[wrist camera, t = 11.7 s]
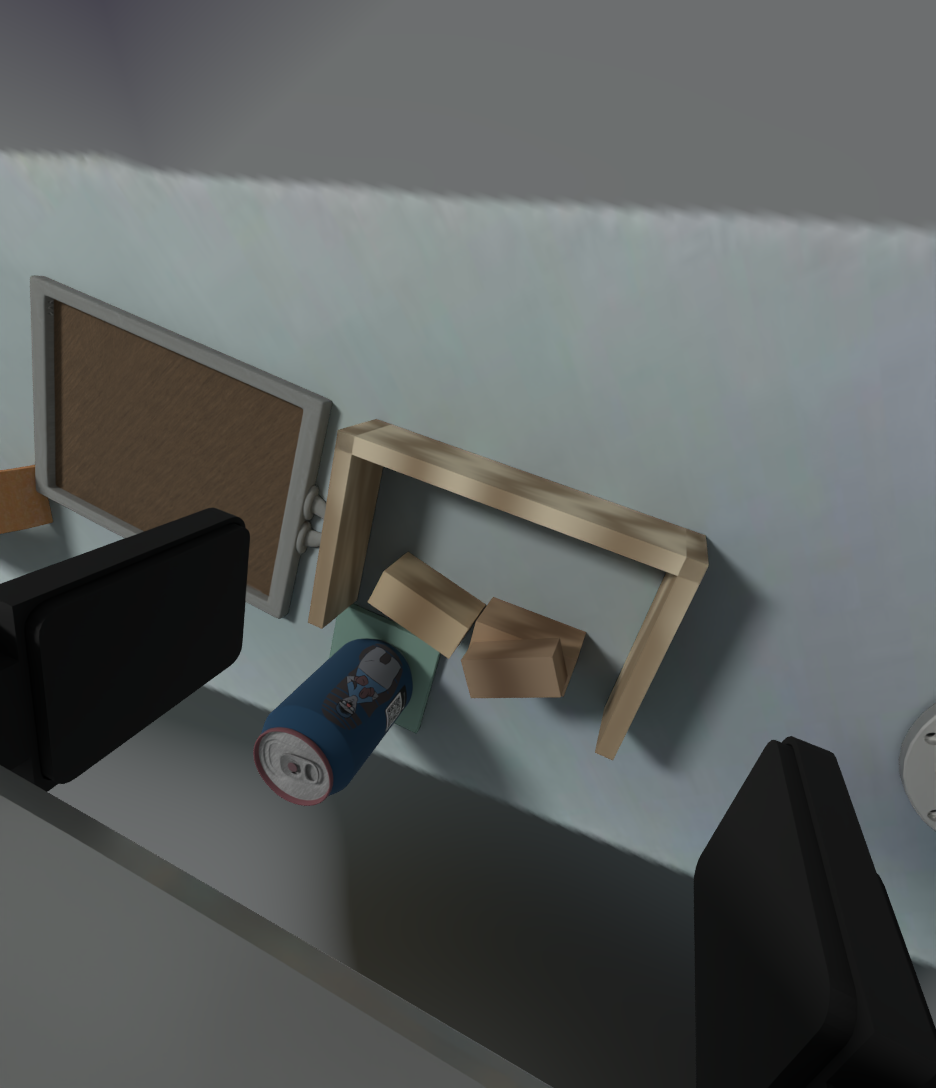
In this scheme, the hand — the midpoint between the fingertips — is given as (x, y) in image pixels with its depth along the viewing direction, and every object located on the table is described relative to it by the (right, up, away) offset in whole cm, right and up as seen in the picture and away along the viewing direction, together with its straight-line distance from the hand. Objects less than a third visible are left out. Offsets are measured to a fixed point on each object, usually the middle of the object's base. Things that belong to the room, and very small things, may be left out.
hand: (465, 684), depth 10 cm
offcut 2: (+5, -4, +32) cm, 32 cm away
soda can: (-7, -8, +37) cm, 38 cm away
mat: (-7, -8, +37) cm, 39 cm away
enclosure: (+3, +1, +30) cm, 30 cm away
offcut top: (+3, -5, +28) cm, 29 cm away
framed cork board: (-23, +10, +38) cm, 45 cm away
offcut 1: (-2, -1, +33) cm, 33 cm away
